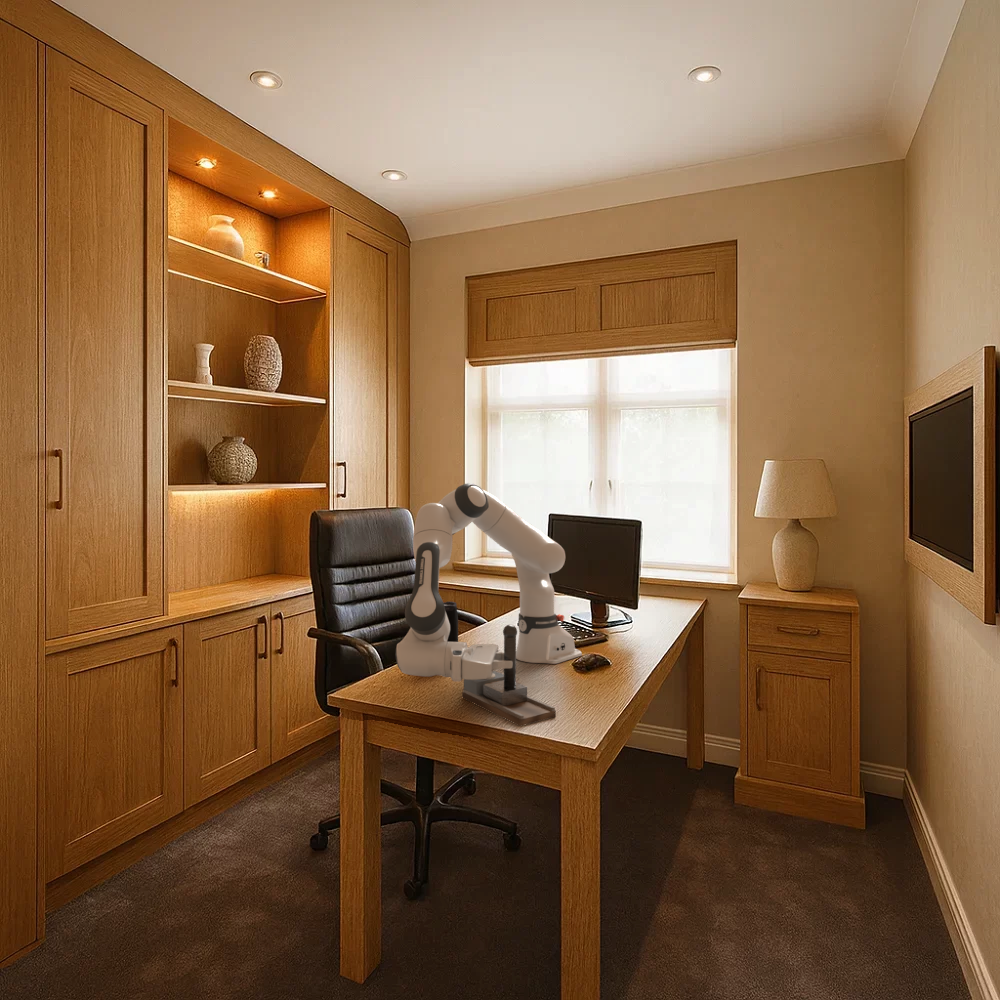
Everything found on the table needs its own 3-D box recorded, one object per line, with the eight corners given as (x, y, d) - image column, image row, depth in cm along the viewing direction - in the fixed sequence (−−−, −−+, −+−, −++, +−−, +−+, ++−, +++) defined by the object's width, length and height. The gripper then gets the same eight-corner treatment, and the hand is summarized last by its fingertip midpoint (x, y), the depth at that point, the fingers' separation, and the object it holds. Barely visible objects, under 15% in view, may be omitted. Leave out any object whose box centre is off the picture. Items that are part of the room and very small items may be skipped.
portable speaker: (453, 661, 218) (454, 600, 218) (461, 669, 210) (461, 605, 209) (426, 663, 216) (427, 601, 215) (433, 672, 207) (433, 606, 206)
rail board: (496, 690, 190) (496, 682, 190) (555, 716, 170) (555, 707, 170) (462, 697, 183) (462, 689, 183) (520, 726, 163) (520, 716, 163)
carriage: (508, 692, 183) (508, 618, 182) (527, 700, 176) (527, 624, 176) (483, 698, 178) (483, 622, 177) (501, 706, 172) (502, 628, 171)
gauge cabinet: (494, 685, 189) (494, 668, 189) (507, 690, 185) (507, 673, 184) (463, 691, 184) (463, 674, 183) (476, 697, 179) (476, 680, 179)
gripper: (464, 660, 187) (515, 662, 186) (452, 683, 166) (510, 685, 165) (464, 637, 187) (516, 638, 185) (452, 657, 166) (510, 659, 165)
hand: (513, 661), depth 175 cm, fingers open, 4 cm apart
